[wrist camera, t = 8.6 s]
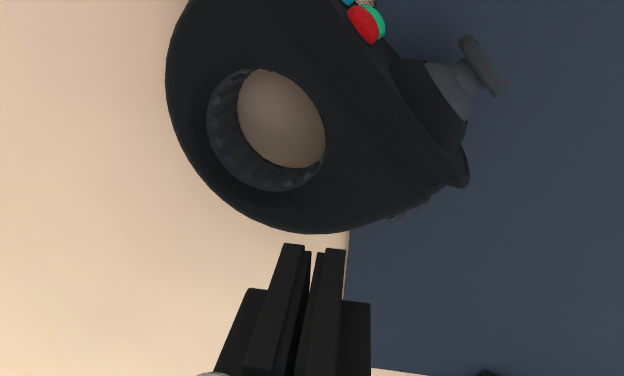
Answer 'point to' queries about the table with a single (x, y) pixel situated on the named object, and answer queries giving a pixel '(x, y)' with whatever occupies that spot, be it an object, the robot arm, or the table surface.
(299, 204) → the controller
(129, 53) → the table surface
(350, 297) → the mat
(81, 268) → the table surface
